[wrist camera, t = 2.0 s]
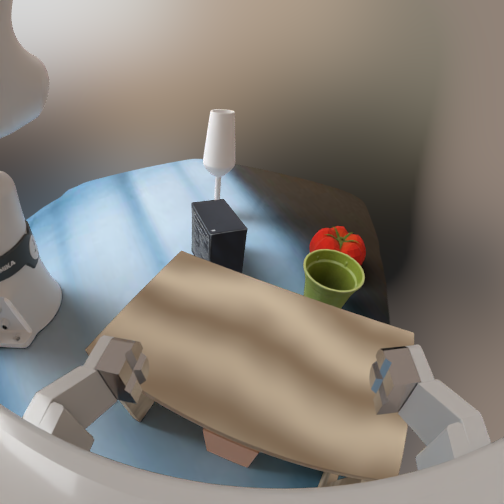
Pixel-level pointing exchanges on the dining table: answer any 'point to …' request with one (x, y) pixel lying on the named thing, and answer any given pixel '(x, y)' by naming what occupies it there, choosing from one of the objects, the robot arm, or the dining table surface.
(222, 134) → the champagne flute
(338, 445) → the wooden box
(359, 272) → the plant pot
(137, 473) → the robot arm
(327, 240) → the tomato
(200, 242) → the small box
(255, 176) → the dining table surface
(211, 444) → the terracotta block
